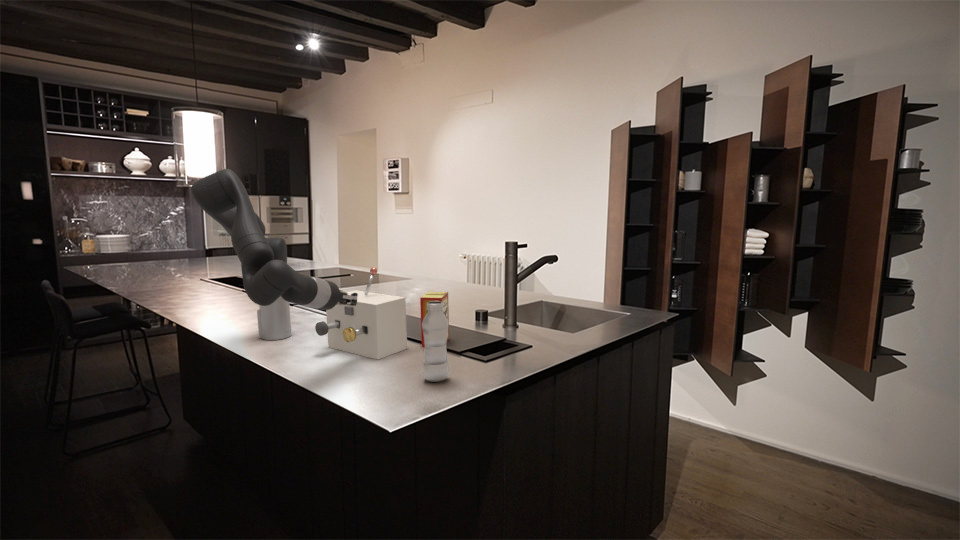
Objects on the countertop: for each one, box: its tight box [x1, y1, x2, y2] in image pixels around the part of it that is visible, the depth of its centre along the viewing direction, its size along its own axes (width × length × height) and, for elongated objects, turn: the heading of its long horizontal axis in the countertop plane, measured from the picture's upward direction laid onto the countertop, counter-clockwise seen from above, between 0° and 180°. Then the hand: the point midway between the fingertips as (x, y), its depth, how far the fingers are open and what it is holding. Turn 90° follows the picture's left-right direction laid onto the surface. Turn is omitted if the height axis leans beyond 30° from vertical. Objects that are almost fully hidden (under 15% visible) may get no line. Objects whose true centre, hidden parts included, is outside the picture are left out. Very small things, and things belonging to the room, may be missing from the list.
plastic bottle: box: [422, 301, 450, 383], centre depth 120 cm, size 6×7×20 cm
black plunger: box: [314, 320, 340, 337], centre depth 144 cm, size 4×7×4 cm, turn 146°
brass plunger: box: [342, 327, 368, 342], centre depth 137 cm, size 4×7×4 cm, turn 146°
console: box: [325, 289, 408, 361], centre depth 147 cm, size 22×13×16 cm, turn 56°
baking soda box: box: [419, 291, 450, 348], centre depth 152 cm, size 10×6×16 cm
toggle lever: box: [364, 267, 378, 296], centre depth 148 cm, size 2×2×9 cm
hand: (354, 301), depth 136 cm, fingers closed
